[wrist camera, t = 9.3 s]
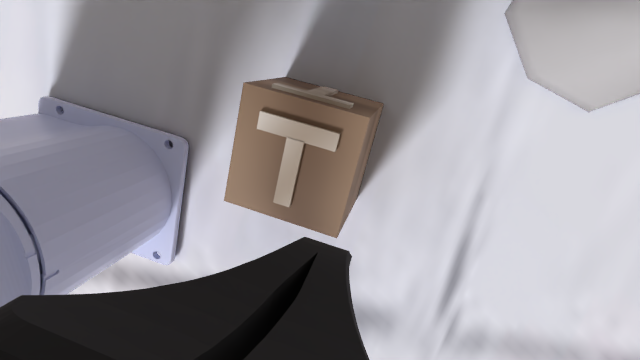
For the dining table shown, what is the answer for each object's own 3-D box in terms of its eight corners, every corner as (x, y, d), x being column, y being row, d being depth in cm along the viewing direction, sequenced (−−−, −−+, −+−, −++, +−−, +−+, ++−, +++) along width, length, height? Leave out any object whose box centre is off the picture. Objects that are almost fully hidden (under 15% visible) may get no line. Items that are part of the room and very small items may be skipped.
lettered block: (267, 170, 22) (222, 202, 17) (286, 73, 20) (242, 78, 15) (356, 198, 21) (335, 239, 16) (384, 100, 19) (370, 114, 15)
